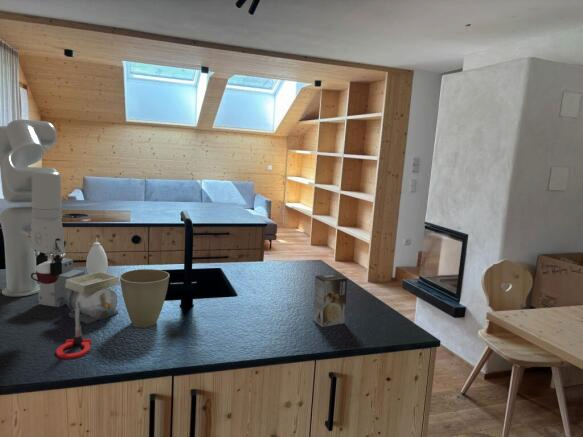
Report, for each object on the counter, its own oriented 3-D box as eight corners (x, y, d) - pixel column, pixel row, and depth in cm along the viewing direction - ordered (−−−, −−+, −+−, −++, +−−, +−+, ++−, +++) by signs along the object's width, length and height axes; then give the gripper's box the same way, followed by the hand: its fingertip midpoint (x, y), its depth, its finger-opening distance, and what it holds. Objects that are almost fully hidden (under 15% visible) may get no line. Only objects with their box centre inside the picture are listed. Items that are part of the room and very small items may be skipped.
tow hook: (84, 359, 117) (95, 342, 126) (82, 314, 114) (93, 300, 123) (51, 360, 116) (64, 343, 125) (48, 315, 113) (61, 300, 122)
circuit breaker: (75, 309, 149) (73, 266, 146) (38, 304, 152) (36, 262, 149) (89, 301, 156) (88, 261, 154) (54, 297, 159) (52, 257, 156)
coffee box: (334, 316, 154) (337, 272, 152) (345, 323, 149) (348, 278, 146) (312, 320, 150) (315, 275, 148) (321, 327, 145) (325, 280, 142)
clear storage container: (61, 315, 143) (60, 278, 141) (97, 304, 154) (97, 269, 152) (90, 327, 135) (89, 288, 133) (126, 314, 146) (125, 278, 144)
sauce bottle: (94, 275, 185) (93, 234, 182) (111, 277, 184) (110, 235, 181) (82, 281, 178) (81, 237, 175) (100, 283, 177) (100, 239, 174)
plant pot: (149, 336, 131) (149, 285, 129) (109, 327, 136) (108, 277, 134) (178, 319, 145) (178, 272, 143) (141, 311, 150) (141, 266, 148)
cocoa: (30, 287, 127) (26, 247, 124) (35, 279, 133) (31, 241, 130) (66, 284, 130) (63, 245, 127) (70, 276, 136) (67, 239, 133)
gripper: (18, 210, 129) (20, 268, 132) (51, 219, 120) (53, 281, 123) (43, 207, 135) (45, 263, 138) (77, 216, 126) (78, 275, 130)
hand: (49, 271), depth 131 cm, fingers closed on cocoa, 6 cm apart
